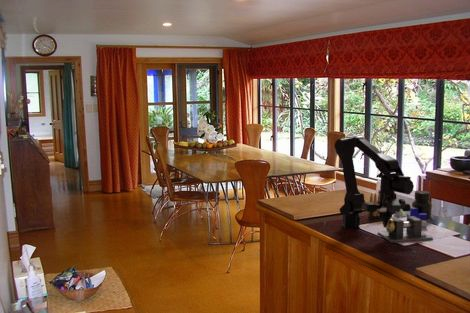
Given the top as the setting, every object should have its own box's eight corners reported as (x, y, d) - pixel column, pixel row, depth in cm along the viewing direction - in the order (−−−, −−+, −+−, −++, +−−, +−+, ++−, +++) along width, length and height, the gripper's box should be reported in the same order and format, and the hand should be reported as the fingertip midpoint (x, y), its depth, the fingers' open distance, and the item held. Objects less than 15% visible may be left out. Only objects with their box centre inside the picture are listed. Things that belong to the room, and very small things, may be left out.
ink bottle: (411, 213, 247) (412, 189, 245) (431, 215, 244) (432, 190, 242) (411, 218, 238) (412, 193, 236) (431, 220, 235) (432, 194, 233)
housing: (391, 242, 202) (392, 223, 201) (377, 233, 214) (378, 216, 213) (432, 239, 205) (433, 221, 204) (416, 231, 217) (417, 214, 216)
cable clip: (406, 220, 235) (407, 207, 234) (416, 220, 235) (416, 207, 234) (416, 227, 223) (416, 214, 223) (426, 227, 223) (426, 214, 223)
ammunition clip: (391, 217, 240) (391, 192, 238) (392, 218, 238) (393, 193, 237) (368, 217, 240) (369, 192, 239) (369, 218, 239) (370, 193, 237)
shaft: (391, 234, 205) (392, 221, 204) (385, 230, 210) (385, 217, 210) (428, 232, 208) (429, 219, 207) (421, 228, 213) (422, 215, 213)
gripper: (374, 193, 196) (371, 233, 198) (419, 193, 199) (416, 232, 201) (362, 188, 206) (360, 225, 208) (405, 188, 210) (402, 225, 212)
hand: (384, 227), depth 207 cm, fingers closed
